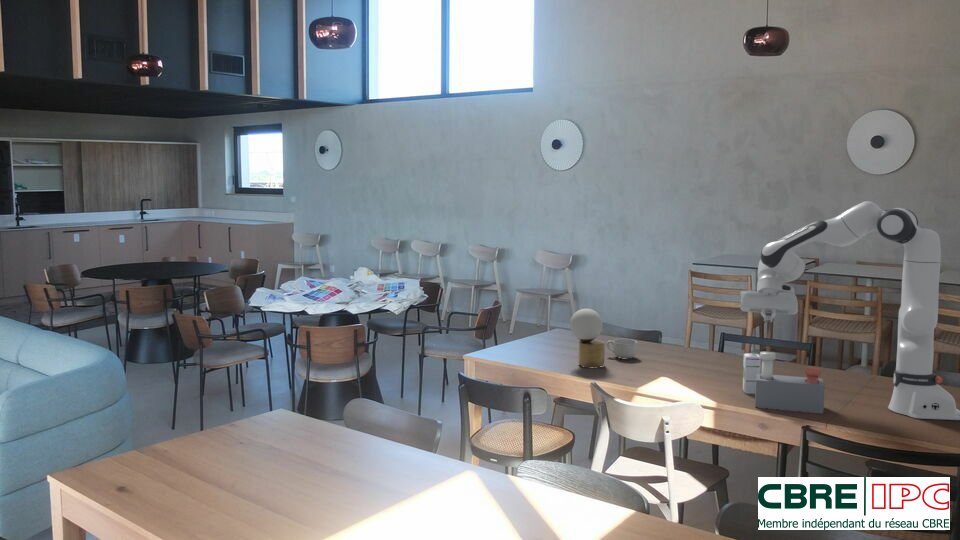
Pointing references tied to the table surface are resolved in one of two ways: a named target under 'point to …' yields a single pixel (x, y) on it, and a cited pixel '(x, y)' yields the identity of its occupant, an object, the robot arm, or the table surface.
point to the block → (789, 394)
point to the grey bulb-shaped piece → (767, 364)
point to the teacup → (623, 347)
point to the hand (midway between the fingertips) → (768, 320)
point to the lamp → (588, 337)
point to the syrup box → (750, 372)
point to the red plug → (812, 374)
